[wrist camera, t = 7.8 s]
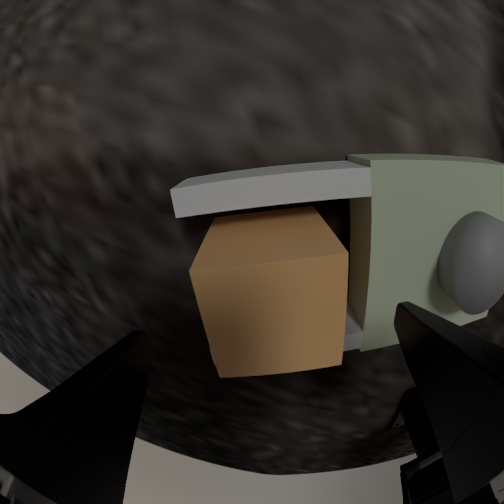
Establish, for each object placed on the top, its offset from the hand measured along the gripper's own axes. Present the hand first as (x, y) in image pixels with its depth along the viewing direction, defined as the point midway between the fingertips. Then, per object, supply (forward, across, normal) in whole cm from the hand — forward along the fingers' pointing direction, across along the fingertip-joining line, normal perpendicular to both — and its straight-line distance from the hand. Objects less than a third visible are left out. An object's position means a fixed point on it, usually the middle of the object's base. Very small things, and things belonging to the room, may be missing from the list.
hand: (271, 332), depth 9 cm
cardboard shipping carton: (+6, 0, 0) cm, 7 cm away
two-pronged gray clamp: (+6, -6, 0) cm, 9 cm away
